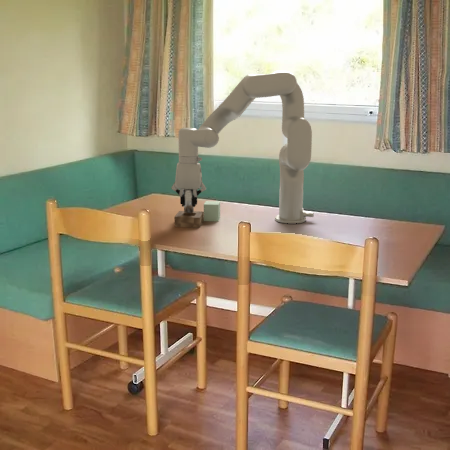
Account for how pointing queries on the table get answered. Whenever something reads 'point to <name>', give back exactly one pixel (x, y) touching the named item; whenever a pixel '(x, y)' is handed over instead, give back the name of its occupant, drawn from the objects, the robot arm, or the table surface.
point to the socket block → (189, 219)
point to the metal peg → (188, 200)
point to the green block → (212, 211)
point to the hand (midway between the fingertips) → (188, 205)
